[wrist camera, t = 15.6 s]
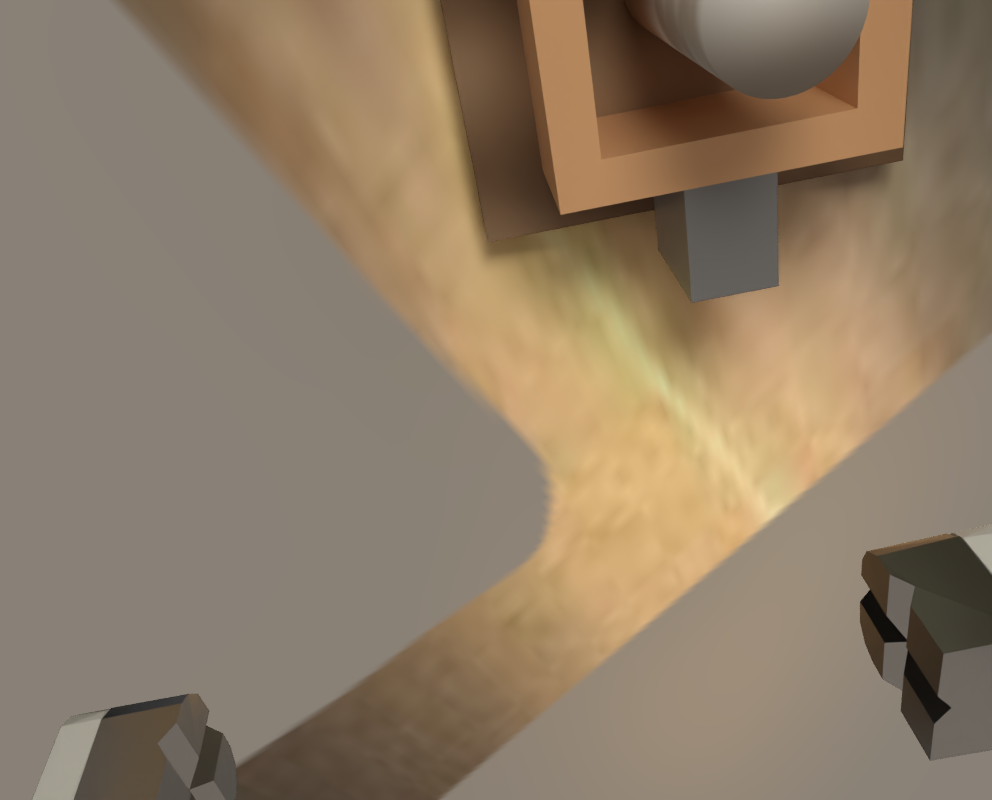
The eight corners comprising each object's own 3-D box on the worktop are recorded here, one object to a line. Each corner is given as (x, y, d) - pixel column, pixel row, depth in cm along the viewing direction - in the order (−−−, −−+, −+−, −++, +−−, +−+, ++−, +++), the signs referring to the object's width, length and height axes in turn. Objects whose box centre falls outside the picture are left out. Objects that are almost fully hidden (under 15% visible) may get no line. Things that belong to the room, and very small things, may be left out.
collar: (488, -183, 26) (500, -195, 22) (848, -259, 26) (931, -287, 22) (557, 269, 34) (576, 325, 30) (835, 215, 34) (895, 263, 29)
